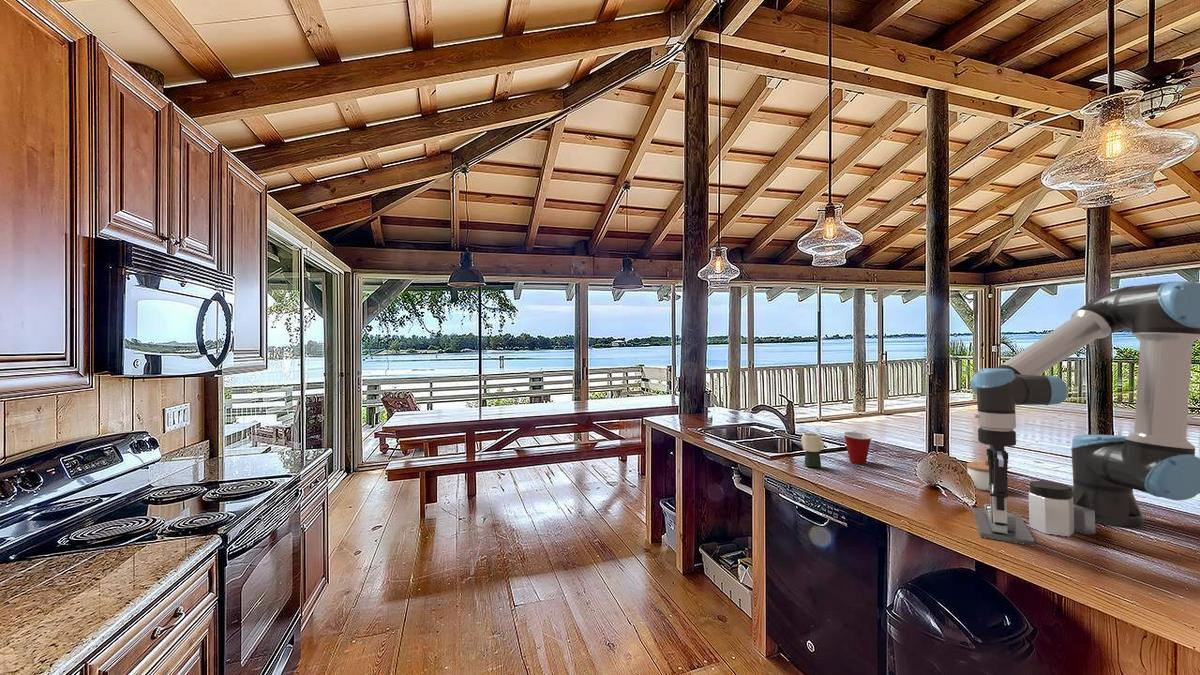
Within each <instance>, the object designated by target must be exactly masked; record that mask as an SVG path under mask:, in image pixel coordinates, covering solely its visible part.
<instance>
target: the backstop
mask: <svg viewBox="0 0 1200 675" xmlns="http://www.w3.org/2000/svg"><path fill="white" fill-rule="evenodd" d="M1074 530H1075V531H1074V532H1076V531H1078V532H1077V533H1079V532H1081V533H1080V534H1082V533H1083V534H1082V535H1085V534H1088V535H1095V534H1096V522H1095V511H1094V510H1091V509H1088V508H1084V507H1081V506H1078V505H1074Z"/></svg>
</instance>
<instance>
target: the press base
mask: <svg viewBox="0 0 1200 675" xmlns="http://www.w3.org/2000/svg"><path fill="white" fill-rule="evenodd" d="M972 513H973V516H974V520H976V521H975V523H977V524H976V527H977V531H978V530H979V531H978V534H979V533H980V534H979V537H980V536H981V537H980V538H982V537H985V538H984V539H988V538H991V539H990V540H994V539H998V540H997V541H999V540H1004V541H1003V542H1005V541H1010V542H1009V543H1011V542H1017V543H1022V544H1021V545H1023V543H1024V544H1028V545H1027V546H1029V545H1034V546H1033V547H1036V540H1035V539H1034V538H1033V535H1032V534H1031V532H1030V530H1029V528H1028V526H1027V525H1026V523H1025V521H1024V520H1023V517H1022V516H1021V514H1020V513H1015V512H1012V513H1013V514H1014V516H1015V518H1016V531H1009V530H1007V532H1008V534H1005V533H998V532H992V529H991V527H990V524H989V522H988V519H987V516H986V514H985V511H984V508H978V507H972ZM1017 543H1016V544H1017Z"/></svg>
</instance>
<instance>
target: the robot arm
mask: <svg viewBox="0 0 1200 675" xmlns="http://www.w3.org/2000/svg"><path fill="white" fill-rule="evenodd" d="M1126 330H1131V335H1132V336H1133V337H1135V338H1136V339H1137V340H1139V352H1138V353H1139V354H1138V356H1139V357H1138V368H1137V382H1136V383H1137V384H1136V386H1137V387H1136V395H1135V397H1136V398H1135V410H1134V411H1135V414H1134V426H1133V427H1134V428H1133V432H1131V433H1130V434H1129V435H1127V436H1126V435H1115V434H1113V435H1111V434H1078V435H1075V436H1074V437H1072V440H1071V441H1072V442H1071V448H1070V450H1071V462H1072V464H1071V466H1072V467H1071V468H1072V479H1073V480H1072V482H1073V483H1072V486H1071V488H1072V497H1073V504H1074V505H1078V506H1081V507H1084V508H1088V509H1091V510H1094V511H1095V523H1097V524H1098V523H1099V524H1103V525H1104V524H1105V525H1110V526H1117V527H1141V526H1143V525H1145V524H1144V514H1143V512H1142V510H1141V508H1140V505H1139V504H1138V501H1137V499H1136V498H1135V495H1134V490H1135V491H1138V492H1139V491H1140V492H1142V493H1146V494H1149V495H1151V496H1153V497H1156V498H1163V499H1168V500H1173V501H1187V500H1190V499H1193V498H1196V496H1197V495H1199V494H1200V458H1199V457H1198V456H1196V446H1194V444H1192V443H1191V442H1190V441H1188V439H1187V431H1188V430H1187V429H1188V428H1187V427H1188V413H1189V401H1190V399H1189V398H1190V385H1191V384H1190V383H1191V373H1192V372H1191V371H1192V370H1191V369H1192V355H1193V354H1192V353H1193V343H1194V342H1196V341H1197V340H1200V282H1198V281H1194V280H1193V281H1191V280H1185V281H1183V280H1182V281H1181V280H1180V281H1167V282H1159V283H1149V284H1142V285H1132V286H1125V287H1121V288H1117V289H1114V290H1111V291H1109V292H1107V293H1104V294H1102V295H1101V296H1099V297H1097V298H1095V299H1093V300H1091V301H1089V302H1088V303H1086V304H1085V305H1083V306H1081V307H1080V308H1078V309H1077V310H1075V311H1073V313H1072V314H1071V315H1070V319H1069V320H1067V321H1066V322H1064V323H1062V324H1061V325H1059V326H1058V327H1056V328H1055V329H1053V330H1052V331H1051V332H1049V333H1047V334H1046V335H1044V336H1043V337H1041V338H1040V339H1038V340H1037V341H1035V342H1034V343H1032V344H1031V345H1029V346H1028V347H1026V348H1024V349H1023V350H1022V351H1020V352H1018V353H1016V354H1015V355H1014V356H1012V357H1011V358H1010V359H1008V360H1006V361H1005V362H1003V363H1002V364H1000V365H998V366H997V367H993V368H992V367H991V368H989V367H988V368H981V369H978V370H977V372H976V373H975V374H973V376H972V377H971V379H970V388H971V389H972V392H974V394H976V400H977V403H976V404H977V414H974V418H976V419H977V425H978V426H979V428H978V429H977V438H978V439H977V440H978V442H980V444H984V445H987V446H989V448H987V449H986V456H987V461H988V465H989V486H990V489H991V485H990V484H991V483H993V494H991V491H989V492H990V493H989V497H991V496H992V500H993V522H1000V523H1007V512H1008V502H1007V498H1009V493H1008V492H1009V491H1008V489H1009V488H1008V486H1009V485H1008V481H1009V480H1008V469H1009V468H1008V467H1009V465H1008V464H1009V453H1008V452H1007V451H1006V450H1005V447H1015V445H1017V432H1016V431H1015V430H1014V429H1017V420H1016V419H1017V414H1016V406H1050V405H1059V404H1062V403H1063V402H1064V401H1065V400H1066V399H1067V398H1068V386H1067V384H1066V382H1065V381H1064V380H1063V379H1062V378H1060V376H1059V377H1058V376H1056V375H1047V374H1044V373H1045V372H1047V371H1048V370H1050V369H1051V368H1053V367H1055V366H1056V365H1058V364H1059V363H1060V362H1062V361H1064V360H1065V359H1067V358H1069V357H1070V356H1071V355H1073V354H1075V353H1076V352H1078V351H1080V350H1081V349H1083V348H1084V347H1086V346H1088V345H1089V344H1091V343H1092V342H1093V341H1095V340H1096V339H1104V338H1107V337H1109V336H1110V335H1112V334H1113V333H1114V334H1115V333H1117V332H1120V331H1126Z"/></svg>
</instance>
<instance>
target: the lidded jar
mask: <svg viewBox="0 0 1200 675" xmlns="http://www.w3.org/2000/svg"><path fill="white" fill-rule="evenodd" d="M966 469H967V475H968V474H969V475H970V476H971V478H972V480H973V482H974V484H973V485H974V486H975V488H976V489H978V490H981V491H986V490H987V492H990V491H991V489H990V486H989V465H988V460H984V462H983V461H969V462H966Z"/></svg>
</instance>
